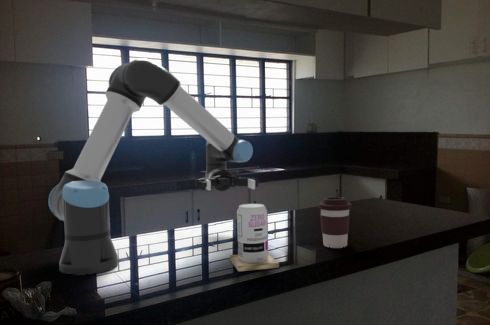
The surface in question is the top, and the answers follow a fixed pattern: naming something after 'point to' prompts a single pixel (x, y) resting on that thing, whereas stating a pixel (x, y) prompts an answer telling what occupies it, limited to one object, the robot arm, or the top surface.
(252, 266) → the trivet
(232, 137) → the robot arm
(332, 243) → the coffee cup
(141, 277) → the top surface
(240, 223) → the supplement can
